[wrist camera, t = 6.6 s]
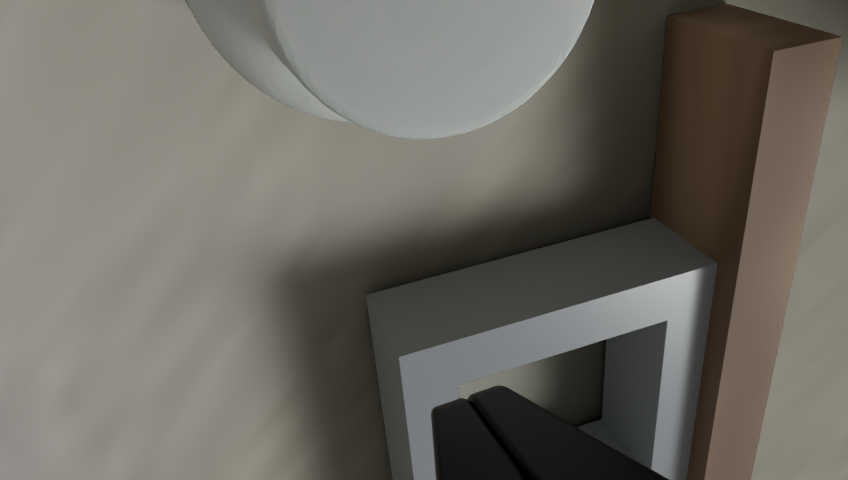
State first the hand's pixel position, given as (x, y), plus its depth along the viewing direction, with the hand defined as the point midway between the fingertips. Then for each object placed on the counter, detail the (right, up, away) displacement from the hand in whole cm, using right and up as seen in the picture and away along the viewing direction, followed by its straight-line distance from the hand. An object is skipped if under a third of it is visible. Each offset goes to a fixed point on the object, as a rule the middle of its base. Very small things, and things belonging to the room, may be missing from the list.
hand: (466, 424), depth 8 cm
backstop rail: (+8, -1, +18) cm, 20 cm away
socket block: (+3, -2, +17) cm, 17 cm away
